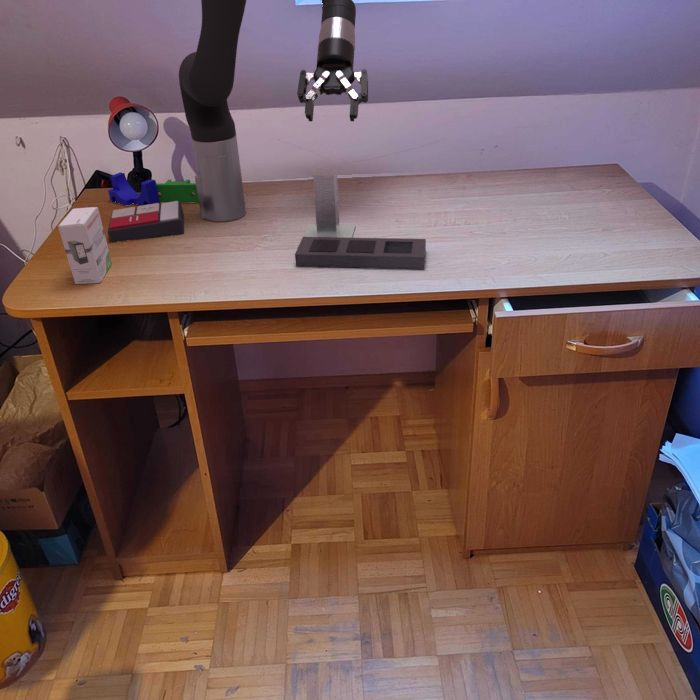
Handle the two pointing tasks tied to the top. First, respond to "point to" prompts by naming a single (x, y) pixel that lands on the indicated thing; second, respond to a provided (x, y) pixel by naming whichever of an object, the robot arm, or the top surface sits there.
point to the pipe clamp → (177, 191)
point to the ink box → (85, 245)
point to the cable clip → (132, 191)
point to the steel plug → (326, 202)
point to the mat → (344, 232)
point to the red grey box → (146, 221)
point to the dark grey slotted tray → (361, 253)
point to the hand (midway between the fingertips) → (330, 119)
